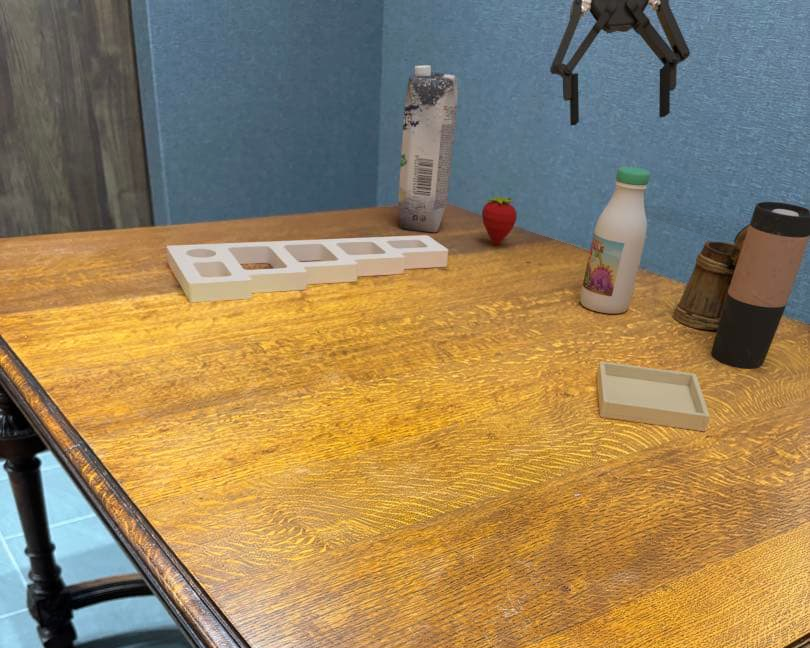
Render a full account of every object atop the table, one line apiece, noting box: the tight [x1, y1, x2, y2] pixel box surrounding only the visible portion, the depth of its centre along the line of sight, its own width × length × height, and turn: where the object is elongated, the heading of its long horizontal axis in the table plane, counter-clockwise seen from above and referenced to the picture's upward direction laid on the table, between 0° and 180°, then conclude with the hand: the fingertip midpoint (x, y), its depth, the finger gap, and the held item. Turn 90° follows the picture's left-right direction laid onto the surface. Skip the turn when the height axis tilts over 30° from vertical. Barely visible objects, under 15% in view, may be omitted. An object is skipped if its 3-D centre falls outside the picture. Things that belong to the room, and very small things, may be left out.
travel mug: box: [710, 201, 810, 369], centre depth 108 cm, size 8×8×20 cm
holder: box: [166, 234, 450, 303], centre depth 129 cm, size 45×18×3 cm, turn 113°
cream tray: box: [596, 360, 711, 432], centre depth 99 cm, size 12×12×2 cm
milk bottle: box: [579, 166, 651, 315], centre depth 122 cm, size 8×8×20 cm
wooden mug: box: [672, 223, 750, 332], centre depth 119 cm, size 9×14×18 cm, turn 12°
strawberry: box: [481, 187, 518, 246], centre depth 148 cm, size 6×8×10 cm
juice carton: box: [397, 65, 458, 233], centre depth 150 cm, size 9×10×27 cm
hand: (619, 119), depth 124 cm, fingers open, 13 cm apart
